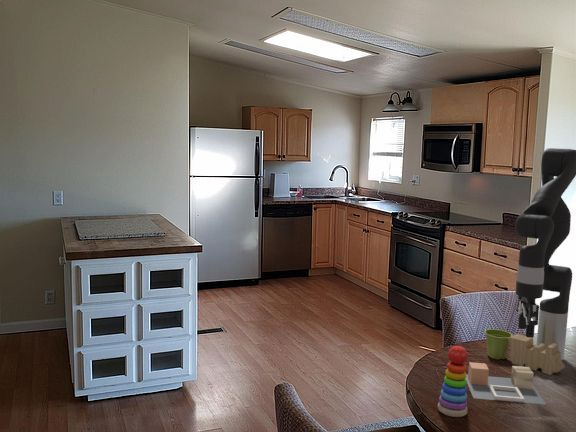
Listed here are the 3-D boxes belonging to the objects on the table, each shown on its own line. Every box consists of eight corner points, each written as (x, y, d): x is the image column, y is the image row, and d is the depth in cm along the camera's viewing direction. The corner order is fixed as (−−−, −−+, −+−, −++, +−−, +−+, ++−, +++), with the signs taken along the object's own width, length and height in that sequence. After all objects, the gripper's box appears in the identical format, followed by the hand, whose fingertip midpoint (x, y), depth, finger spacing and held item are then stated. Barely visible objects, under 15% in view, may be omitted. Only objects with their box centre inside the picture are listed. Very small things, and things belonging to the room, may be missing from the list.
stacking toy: (451, 420, 149) (456, 353, 147) (431, 408, 156) (435, 343, 154) (473, 415, 152) (478, 349, 150) (452, 403, 159) (456, 339, 157)
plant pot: (513, 355, 200) (515, 332, 199) (507, 363, 192) (509, 339, 191) (486, 350, 204) (487, 327, 204) (480, 357, 197) (481, 334, 196)
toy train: (557, 380, 179) (560, 350, 178) (505, 364, 191) (508, 336, 190) (563, 375, 183) (566, 346, 182) (512, 360, 195) (515, 333, 194)
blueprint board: (463, 377, 179) (463, 371, 178) (528, 382, 176) (529, 376, 175) (473, 401, 161) (473, 394, 161) (546, 408, 158) (546, 401, 158)
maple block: (510, 381, 174) (512, 365, 173) (527, 382, 173) (528, 367, 173) (514, 387, 169) (516, 371, 169) (532, 389, 168) (533, 373, 168)
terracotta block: (467, 377, 176) (469, 362, 175) (484, 378, 175) (485, 363, 175) (470, 383, 171) (471, 368, 170) (487, 385, 170) (488, 369, 170)
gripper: (550, 286, 160) (545, 341, 162) (536, 276, 174) (531, 326, 176) (523, 285, 161) (518, 339, 163) (511, 274, 175) (507, 324, 177)
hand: (525, 332), depth 169 cm, fingers open, 8 cm apart
